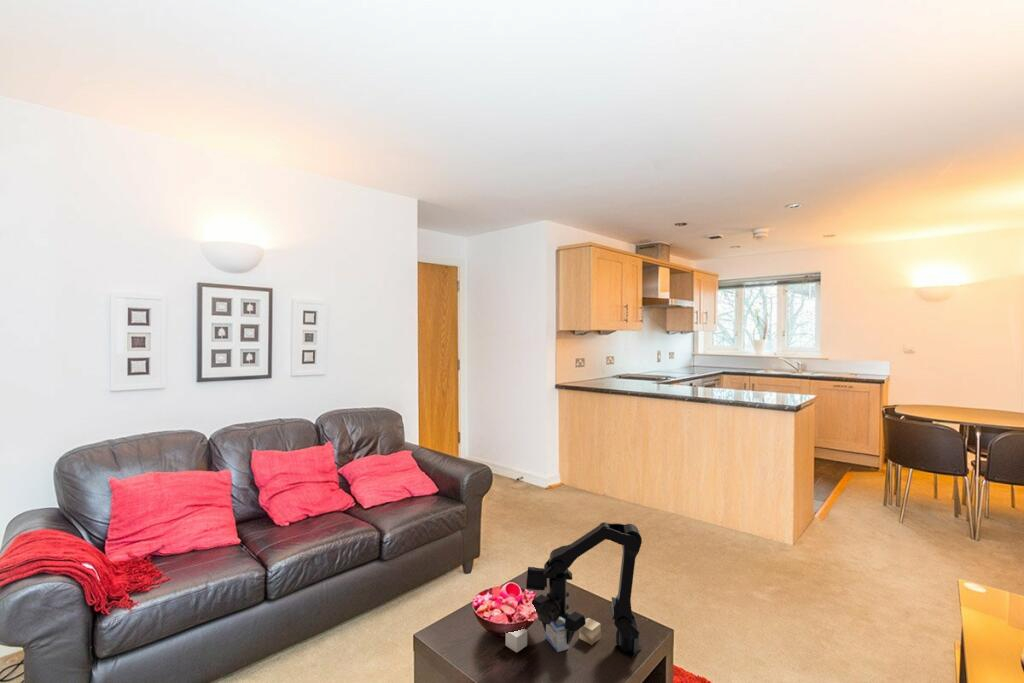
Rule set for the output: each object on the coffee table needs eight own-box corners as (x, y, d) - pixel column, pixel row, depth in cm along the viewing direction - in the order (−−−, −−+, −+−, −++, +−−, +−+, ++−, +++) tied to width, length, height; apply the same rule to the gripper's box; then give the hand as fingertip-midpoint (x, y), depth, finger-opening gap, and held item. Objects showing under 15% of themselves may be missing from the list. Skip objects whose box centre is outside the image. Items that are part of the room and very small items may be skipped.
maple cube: (600, 638, 160) (600, 623, 160) (591, 645, 156) (591, 630, 156) (587, 632, 163) (588, 617, 163) (579, 638, 160) (579, 623, 159)
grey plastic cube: (527, 645, 156) (527, 630, 156) (516, 652, 152) (516, 637, 152) (516, 638, 159) (516, 623, 159) (505, 645, 155) (505, 630, 155)
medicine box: (545, 638, 159) (545, 612, 159) (556, 635, 161) (557, 609, 161) (557, 652, 152) (557, 626, 152) (569, 649, 154) (569, 622, 154)
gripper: (520, 589, 157) (519, 636, 157) (565, 612, 144) (564, 663, 144) (542, 576, 165) (541, 621, 165) (586, 597, 152) (586, 646, 152)
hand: (557, 637), depth 156 cm, fingers closed on medicine box, 9 cm apart
